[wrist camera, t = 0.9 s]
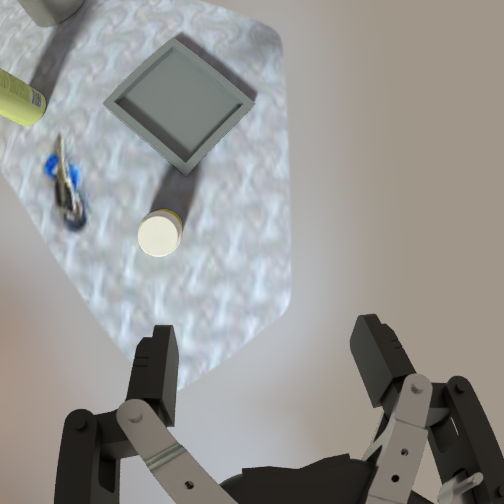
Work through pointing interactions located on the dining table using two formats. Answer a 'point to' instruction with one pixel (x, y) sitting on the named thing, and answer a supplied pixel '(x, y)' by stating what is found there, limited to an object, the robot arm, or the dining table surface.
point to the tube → (20, 100)
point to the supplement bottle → (160, 232)
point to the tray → (179, 105)
